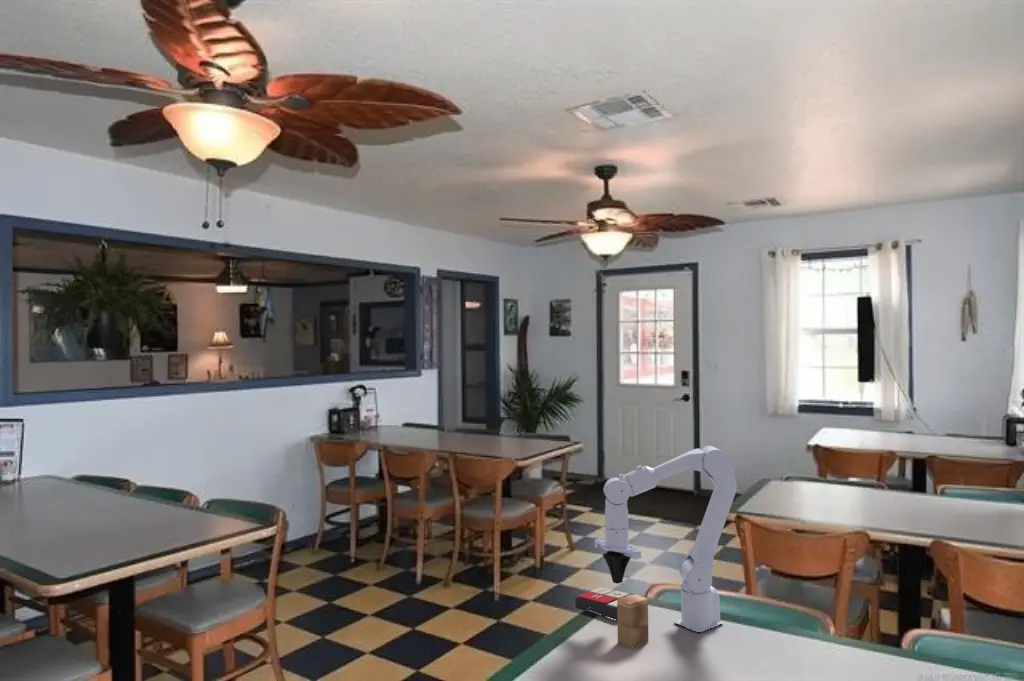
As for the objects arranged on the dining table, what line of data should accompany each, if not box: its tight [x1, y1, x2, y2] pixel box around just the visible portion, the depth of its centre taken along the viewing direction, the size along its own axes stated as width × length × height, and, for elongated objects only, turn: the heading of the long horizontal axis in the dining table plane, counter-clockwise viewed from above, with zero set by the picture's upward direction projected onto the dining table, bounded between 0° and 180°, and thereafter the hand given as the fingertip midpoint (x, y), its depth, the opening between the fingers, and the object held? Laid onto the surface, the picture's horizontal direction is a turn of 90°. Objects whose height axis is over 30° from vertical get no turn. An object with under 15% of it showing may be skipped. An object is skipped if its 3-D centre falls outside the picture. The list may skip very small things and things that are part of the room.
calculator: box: [574, 587, 632, 620], centre depth 183 cm, size 11×4×15 cm
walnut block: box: [616, 593, 649, 649], centre depth 161 cm, size 6×4×10 cm, turn 126°
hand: (617, 582), depth 172 cm, fingers closed
